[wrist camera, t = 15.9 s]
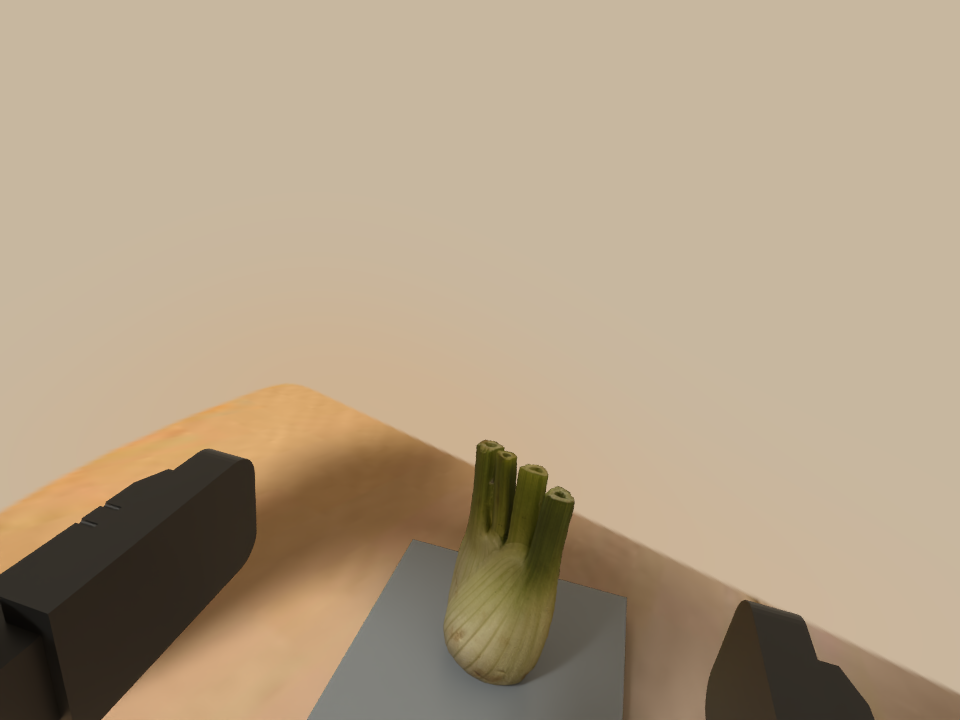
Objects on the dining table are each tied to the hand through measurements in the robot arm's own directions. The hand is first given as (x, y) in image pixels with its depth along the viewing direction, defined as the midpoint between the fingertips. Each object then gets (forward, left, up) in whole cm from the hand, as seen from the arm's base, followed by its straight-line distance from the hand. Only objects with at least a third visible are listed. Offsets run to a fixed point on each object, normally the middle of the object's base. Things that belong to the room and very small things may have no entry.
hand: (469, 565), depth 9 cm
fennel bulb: (-1, +15, -19) cm, 25 cm away
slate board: (-1, +15, -21) cm, 26 cm away
